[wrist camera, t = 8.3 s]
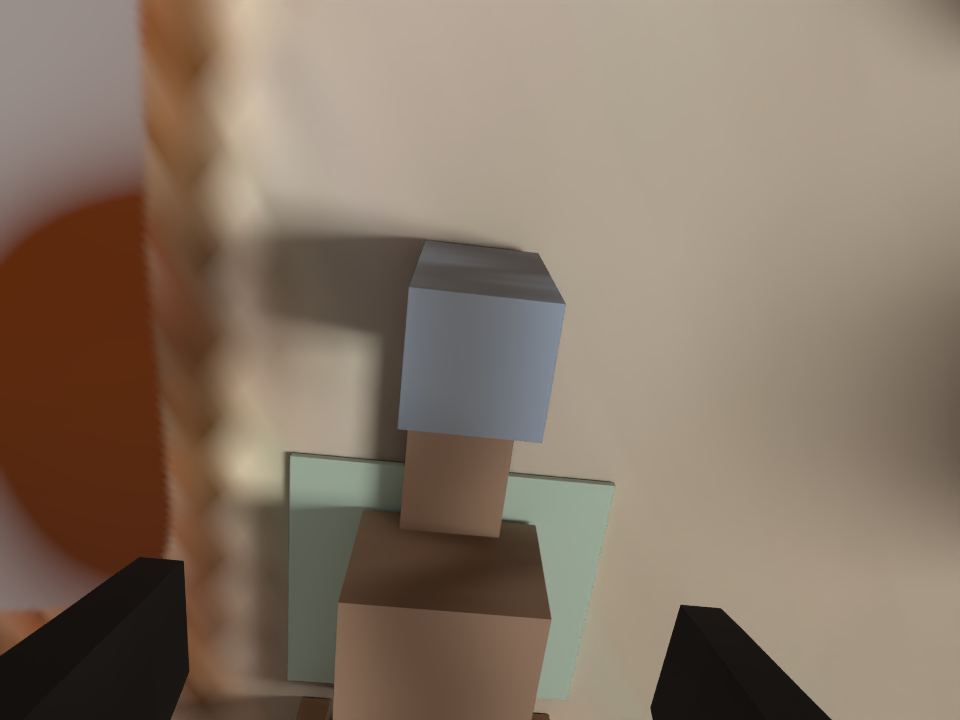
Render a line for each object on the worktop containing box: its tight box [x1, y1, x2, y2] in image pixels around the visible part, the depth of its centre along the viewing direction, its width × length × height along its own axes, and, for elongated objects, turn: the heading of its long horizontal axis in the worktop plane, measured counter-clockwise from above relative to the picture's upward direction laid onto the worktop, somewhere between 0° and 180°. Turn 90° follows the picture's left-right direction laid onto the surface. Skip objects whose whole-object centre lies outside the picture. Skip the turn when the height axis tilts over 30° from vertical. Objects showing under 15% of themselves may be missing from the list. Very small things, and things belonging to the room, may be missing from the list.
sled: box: [333, 241, 566, 720], centre depth 17 cm, size 5×16×5 cm, turn 173°
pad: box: [287, 453, 615, 700], centre depth 21 cm, size 10×9×1 cm
